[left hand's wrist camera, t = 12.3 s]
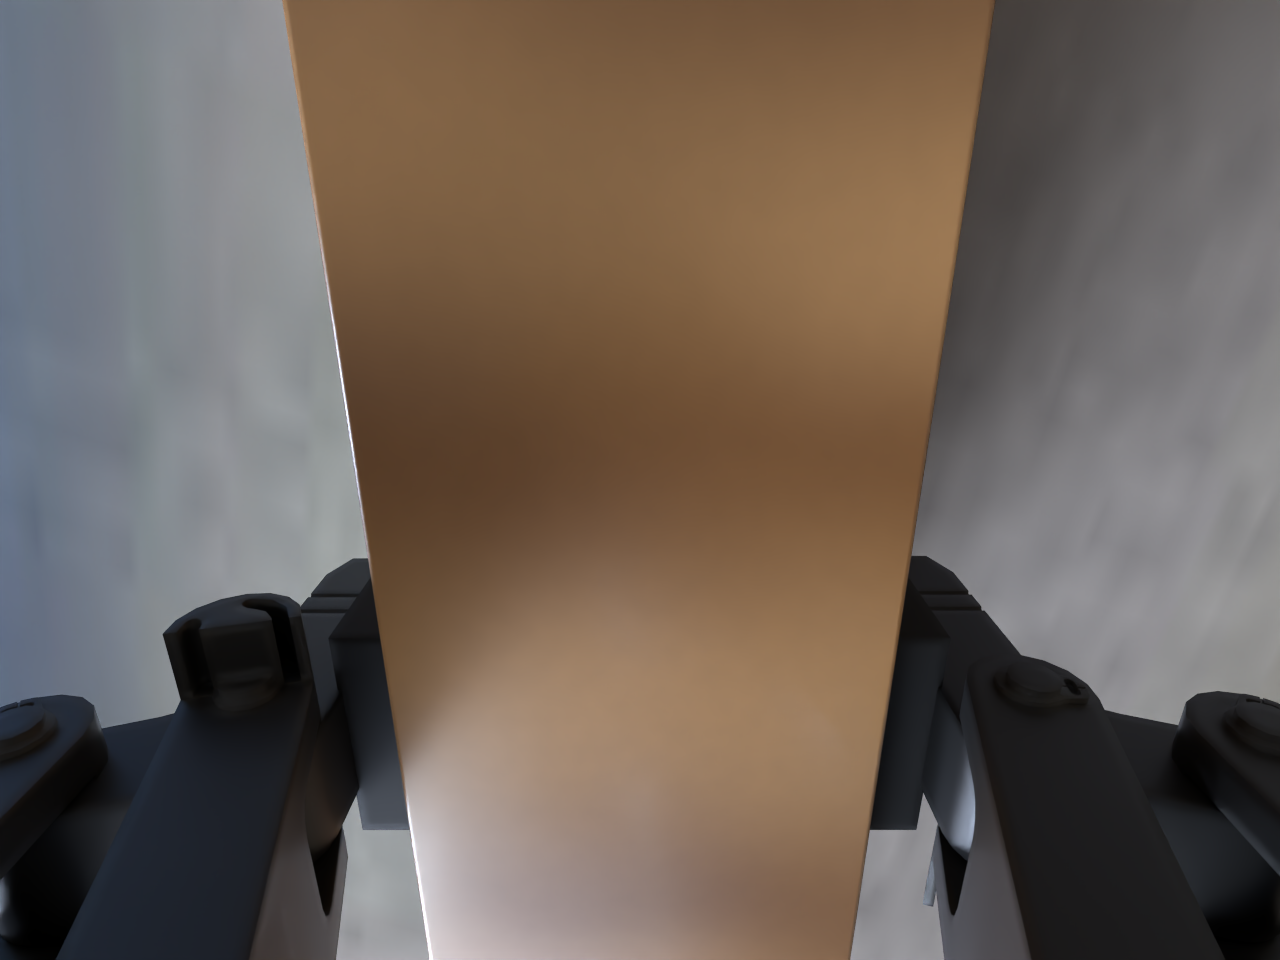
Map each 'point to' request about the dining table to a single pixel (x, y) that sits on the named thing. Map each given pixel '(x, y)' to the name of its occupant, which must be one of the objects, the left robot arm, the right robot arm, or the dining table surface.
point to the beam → (639, 438)
